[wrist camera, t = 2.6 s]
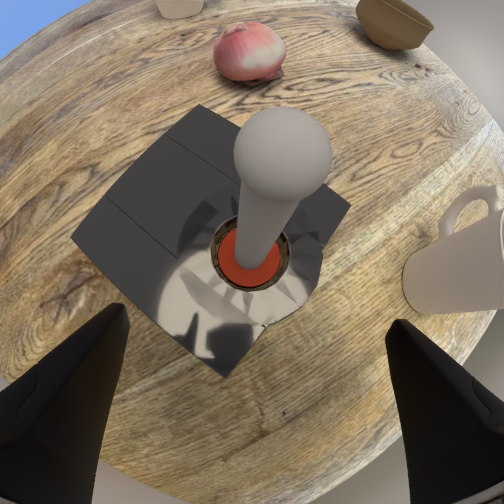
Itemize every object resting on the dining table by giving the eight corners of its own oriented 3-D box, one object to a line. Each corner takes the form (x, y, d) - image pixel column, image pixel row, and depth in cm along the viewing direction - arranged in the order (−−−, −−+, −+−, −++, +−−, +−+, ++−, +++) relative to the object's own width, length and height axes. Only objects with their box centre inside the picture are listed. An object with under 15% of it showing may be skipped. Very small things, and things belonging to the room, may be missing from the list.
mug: (445, 318, 22) (540, 307, 10) (397, 315, 21) (504, 304, 10) (444, 224, 24) (523, 180, 12) (398, 210, 24) (481, 149, 12)
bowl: (424, 66, 32) (448, 31, 22) (381, 64, 30) (407, 18, 20) (380, 26, 34) (397, -8, 24) (333, 22, 32) (348, -21, 22)
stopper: (253, 300, 21) (324, 254, 5) (206, 263, 21) (156, 134, 6) (288, 254, 22) (399, 130, 6) (242, 219, 22) (269, 51, 7)
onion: (232, 50, 27) (234, 6, 20) (290, 67, 27) (302, 22, 20) (202, 85, 25) (199, 34, 18) (268, 104, 25) (279, 52, 18)
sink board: (238, 380, 19) (239, 388, 17) (83, 244, 20) (69, 237, 18) (350, 223, 23) (362, 213, 20) (200, 120, 24) (198, 103, 22)
